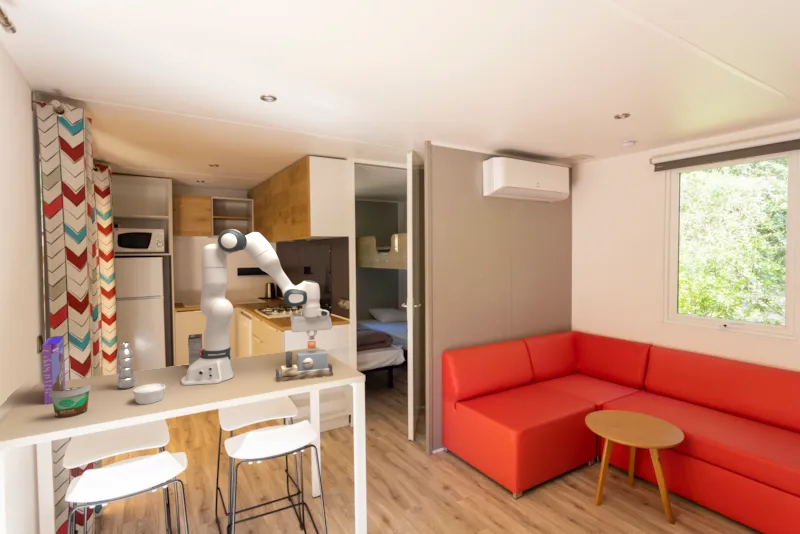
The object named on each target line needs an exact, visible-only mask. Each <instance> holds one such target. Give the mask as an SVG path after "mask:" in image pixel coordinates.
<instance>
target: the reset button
mask: <svg viewBox="0 0 800 534" xmlns="http://www.w3.org/2000/svg"><path fill="white" fill-rule="evenodd" d="M316 343H317V341H315V340H308V341H307V349H310V350H311V349H316V347H317V345H316Z"/></svg>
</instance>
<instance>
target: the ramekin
mask: <svg viewBox="0 0 800 534" xmlns="http://www.w3.org/2000/svg"><path fill="white" fill-rule="evenodd" d="M165 390H166V385H165V384H163V383H148V384H142V385H140V386H137V387H135V388H134V389H133V390H132V393H133V394H134V395H133V396H134V399H135V403H137V404H139V405H150V404H154V403H158V402H159V401H161V400H162V399H164V396H165Z"/></svg>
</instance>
